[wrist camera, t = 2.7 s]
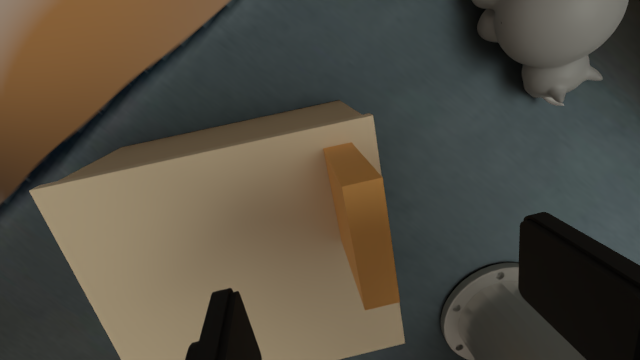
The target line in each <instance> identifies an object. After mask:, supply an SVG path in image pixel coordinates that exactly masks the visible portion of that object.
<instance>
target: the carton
mask: <svg viewBox="0 0 640 360" xmlns="http://www.w3.org/2000/svg"><path fill="white" fill-rule="evenodd" d="M359 115H362V114H360V113H359V112H357V111H355V110H354V109H352V108H351V107H349V106H348V105H346V104H345V103H343V102H341V101H340V100H338V101H333V102H328V103H324V104H319V105H315V106H310V107H305V108H301V109H296V110H291V111H287V112H282V113H278V114H273V115H268V116H264V117H259V118H254V119H250V120H245V121H241V122H236V123H231V124H227V125H222V126H217V127H213V128H208V129H204V130H199V131H194V132H190V133H185V134H181V135H176V136H171V137H167V138H162V139H157V140H153V141H148V142H144V143H139V144H134V145H130V146H125V147H121V148H119V149H117V150H116V151H114V152H112V153H110V154H108V155H106V156H104V157H102V158H100V159H99V160H97V161H95V162H93V163H91V164H89V165H87V166H85V167H83V168H82V169H80V170H78V171H76V172H74V173H72V174H70V175H68V176H67V177H65V178H63V179H61V180H59V181H62V180H66V179H71V178H75V177H80V176H85V175H89V174H94V173H98V172H103V171H107V170H112V169H117V168H121V167H126V166H130V165H135V164H139V163H144V162H149V161H153V160H158V159H162V158H167V157H171V156H176V155H181V154H185V153H190V152H194V151H199V150H203V149H208V148H213V147H217V146H222V145H226V144H231V143H236V142H240V141H245V140H249V139H254V138H258V137H263V136H268V135H272V134H277V133H281V132H286V131H290V130H295V129H300V128H304V127H309V126H313V125H318V124H322V123H327V122H332V121H336V120H341V119H345V118H350V117H354V116H359Z"/></svg>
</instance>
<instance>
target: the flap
mask: <svg viewBox="0 0 640 360" xmlns="http://www.w3.org/2000/svg"><path fill="white" fill-rule="evenodd" d="M29 192H30V193H31V195H32V197H33V199H34V201H35V203H36V204H37V206H38V208H39V210H40V212H41V214H42V215H43V217H44V219H45V221H46V223H47V224H48V226H49V228H50V230H51V232H52V234H53V235H54V237H55V239H56V241H57V243H58V245H59V246H60V248H61V250H62V252H63V254H64V256H65V257H66V259H67V261H68V263H69V265H70V267H71V268H72V270H73V272H74V274H75V276H76V278H77V279H78V281H79V283H80V285H81V287H82V289H83V290H84V292H85V294H86V296H87V298H88V300H89V301H90V303H91V305H92V307H93V309H94V311H95V312H96V314H97V316H98V318H99V320H100V322H101V323H102V325H103V327H104V329H105V331H106V333H107V334H108V336H109V338H110V340H111V342H112V344H113V345H114V347H115V349H116V351H117V353H118V355H119V356H120V358H121V360H185V358H186V354H187V351H188V348H189V346H190V345H191V343H193V342H197V341H199V339H200V335H201V331H202V327H203V324H204V320H205V316H206V313H207V309H208V305H209V301H210V298H211V294H212V293H213V292H215V291H219V290H224V289H228V288H232V290H233V292H235V291H239V293H240V295H241V298H242V301H243V304H244V307H245V310H246V312H247V315H248V318H249V321H250V324H251V327H252V329H253V332H254V335H255V338H256V341H257V344H258V346H259V349H260V352H261V356H262V360H339V359H343V358H347V357H351V356H356V355H360V354H364V353H368V352H372V351H376V350H380V349H384V348H388V347H392V346H396V345H400V344H404V343H405V339H404V332H403V325H402V318H401V311H400V303H399V302H400V298H399V291H398V284H397V277H396V270H395V262H394V255H393V248H392V241H391V234H390V227H389V219H388V212H387V205H386V198H385V191H384V184H383V177H382V175H381V168H380V161H379V154H378V147H377V140H376V133H375V126H374V119H373V115H372V114H370V113H368V114H364V115H359V116H354V117H350V118H345V119H341V120H336V121H332V122H327V123H322V124H318V125H313V126H309V127H304V128H300V129H295V130H290V131H286V132H281V133H277V134H272V135H268V136H263V137H258V138H254V139H249V140H245V141H240V142H236V143H231V144H226V145H222V146H217V147H213V148H208V149H203V150H199V151H194V152H190V153H185V154H181V155H176V156H171V157H167V158H162V159H158V160H153V161H149V162H144V163H139V164H135V165H130V166H126V167H121V168H117V169H112V170H107V171H103V172H98V173H94V174H89V175H85V176H80V177H75V178H71V179H66V180H62V181H57V182H53V183H48V184H43V185H39V186H37V187H35V188H33V189H31V190H29Z"/></svg>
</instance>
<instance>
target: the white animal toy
mask: <svg viewBox="0 0 640 360" xmlns="http://www.w3.org/2000/svg"><path fill="white" fill-rule="evenodd" d="M472 2H473V3H474V4H475V5H476V6H477V7H480V8H483V9H486V10H485V11H484V12H483V14H482V15H481V17H480V19H479V21H478V25H477V31H478V34H479V35H480V36H481V37H482V38H483V39H485V40H487V41H490V42H499V44H500V46H501V48H502V49H503V50H504V52H505V53H506V54H507V55H508V56H509V57H511V58H512V59H513V60H515V61H517V62H519V63H521V64H523V67H522V79H523V85H524V89H525V90H526V92H527V93H529V94H530V95H531V96H532V97H534V98H538V97H541V98H543V99H544V100H545V101H547V102H548V103H550V104H553V105H557V106H563V105H564V104H563V103H562V102H563V101H564V98H565V94H566V93H567V92H570V91H571V90H573V89H575V88H576V87H577V86H578V85H580V84H581V83H582V82H583V81H585V80H593V81H600V80H602V79H603V77H602V75H601V74H600V73H599V72H598V71H597V70H596V69H594V68H593V67H591V66H590V64H589V57H588V54H590V53H591V52H593V51H594V50H596V49H597V48H598V47H599V46H601V45H602V44H603V43H604V42H605V41H606V40H607V39H608V38H609V37H610V36H611V35H612V33H613V32H614V31H615V29H616V28H617V27H618V25H619V23H620V22H621V20H622V18H623V16H624V14H625V11H626V8H627V5H628V0H472Z"/></svg>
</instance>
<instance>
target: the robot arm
mask: <svg viewBox="0 0 640 360" xmlns="http://www.w3.org/2000/svg"><path fill="white" fill-rule="evenodd" d="M441 330H442V334H443V336H444V338H445V340H446V342H447V343H448V345H449V346H450V348H451V349H452V350H453V351H454V352H455V353H456V354H457V355H459V356H461V357H463V358H465V359H468V360H640V265H638V264H636V263H634V262H633V261H631V260H629V259H627V258H626V257H624V256H622V255H620V254H619V253H617V252H615V251H613V250H612V249H610V248H608V247H606V246H605V245H603V244H601V243H599V242H598V241H596V240H594V239H592V238H591V237H589V236H587V235H585V234H584V233H582V232H580V231H578V230H577V229H575V228H573V227H571V226H570V225H568V224H566V223H564V222H563V221H561V220H559V219H557V218H556V217H554V216H552V215H550V214H549V213H546V212H541V213H537V214H533V215H529V216H526V217H525V218H524V221H523V222H521V224H520V242H519V263H501V264H496V265H491V266H489V267H486V268H483V269H481V270H479V271H477V272H475V273H473V274H472V275H470V276H469V277H467V278H466V279H465V280H463V281H462V282H461V283H460V284H459V285H458V286H457V287H456V288H455V289H454V290H453V292H452V293H451V294H450V296H449V297H448V299H447V301H446V303H445V305H444V307H443V310H442V314H441ZM185 360H262V356H261V352H260V349H259V346H258V344H257V341H256V338H255V335H254V332H253V329H252V327H251V324H250V321H249V318H248V315H247V312H246V310H245V307H244V304H243V301H242V298H241V295H240V293H239V291H235V292H233V290H232V288H228V289H224V290H219V291H215V292H213V293H212V294H211V298H210V301H209V305H208V309H207V313H206V316H205V320H204V324H203V327H202V331H201V335H200V339H199V341H197V342H193V343H191V345H190V346H189V348H188V351H187V354H186V358H185Z"/></svg>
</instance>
